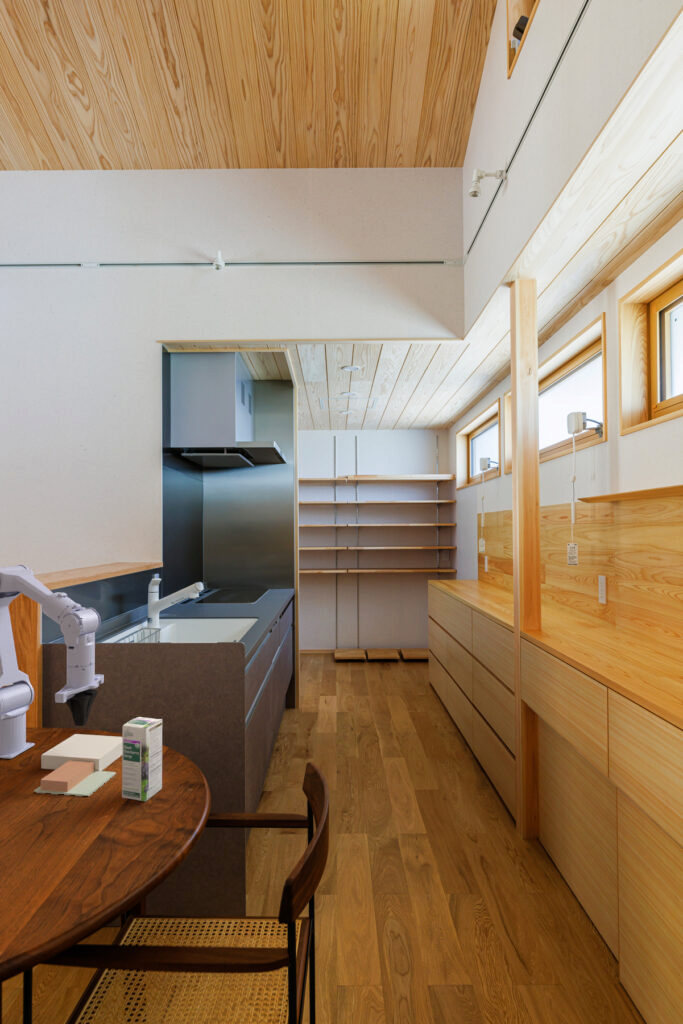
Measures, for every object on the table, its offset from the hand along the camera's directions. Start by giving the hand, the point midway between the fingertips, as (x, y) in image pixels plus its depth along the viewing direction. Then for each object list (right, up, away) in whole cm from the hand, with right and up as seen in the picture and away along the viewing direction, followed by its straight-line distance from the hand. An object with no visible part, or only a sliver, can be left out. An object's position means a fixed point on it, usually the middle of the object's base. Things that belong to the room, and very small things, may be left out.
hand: (80, 724), depth 125 cm
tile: (+1, -9, -8) cm, 12 cm away
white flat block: (0, -9, +4) cm, 10 cm away
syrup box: (+18, -9, -12) cm, 24 cm away
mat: (+3, -9, -8) cm, 12 cm away
